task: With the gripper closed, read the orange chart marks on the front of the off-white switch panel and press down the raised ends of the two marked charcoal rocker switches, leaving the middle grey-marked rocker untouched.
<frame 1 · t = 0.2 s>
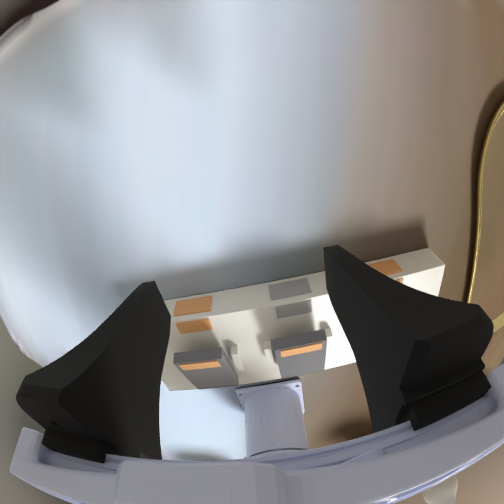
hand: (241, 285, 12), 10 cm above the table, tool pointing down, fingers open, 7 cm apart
switch panel: (292, 320, 26), on the table
fruit juice: (420, 431, 52), on the table
rocker b: (301, 357, 23), point 5 cm above the table, hinge at -12.0°
rocker c: (208, 371, 23), point 5 cm above the table, hinge at -12.0°
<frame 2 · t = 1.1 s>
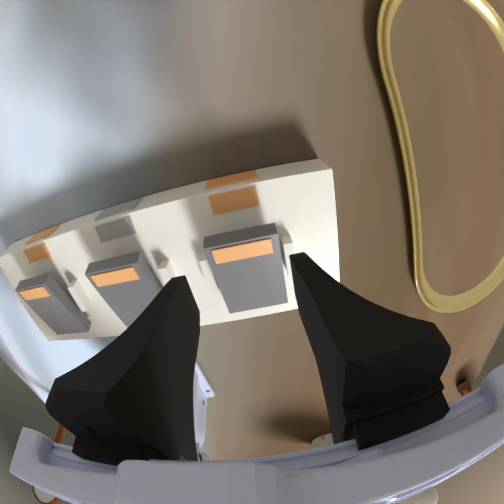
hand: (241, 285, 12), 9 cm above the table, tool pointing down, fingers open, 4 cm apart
magnifying glass: (70, 403, 35), on the table
switch panel: (148, 259, 22), on the table
fruit juice: (395, 433, 47), on the table
tin: (461, 387, 41), on the table
rocker b: (132, 294, 18), point 5 cm above the table, hinge at -12.0°
rocker c: (52, 307, 18), point 5 cm above the table, hinge at -12.0°
serving platter: (474, 158, 19), on the table
rocker a: (249, 273, 17), point 5 cm above the table, hinge at -12.0°
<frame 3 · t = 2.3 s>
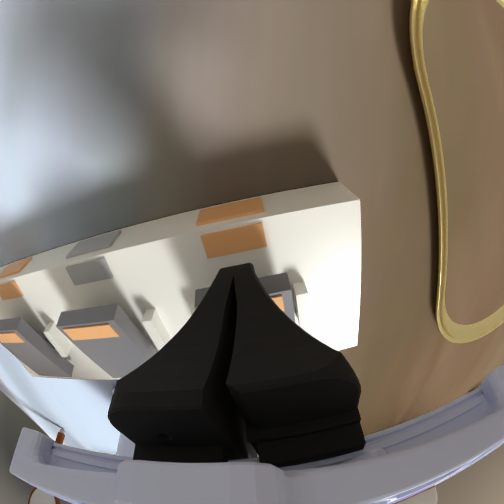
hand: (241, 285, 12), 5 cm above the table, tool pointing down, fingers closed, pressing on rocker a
magnifying glass: (63, 427, 31), on the table
switch panel: (133, 298, 18), on the table
fruit juice: (400, 452, 43), on the table
rocker b: (114, 347, 14), point 5 cm above the table, hinge at -12.0°
rocker c: (30, 350, 14), point 5 cm above the table, hinge at -12.0°
rocker a: (254, 330, 14), point 5 cm above the table, hinge at -11.2°, touching gripper
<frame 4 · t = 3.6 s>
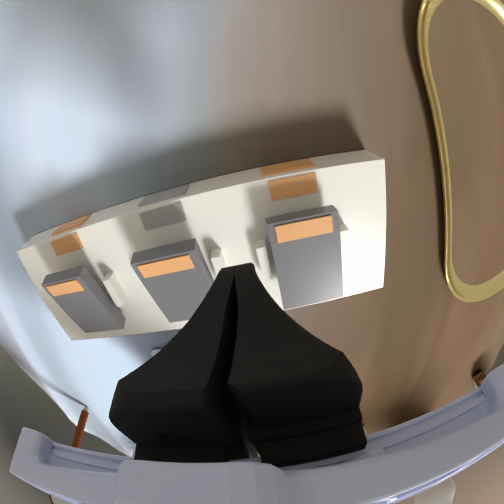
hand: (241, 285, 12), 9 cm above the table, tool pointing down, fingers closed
magnifying glass: (87, 405, 35), on the table
switch panel: (189, 250, 21), on the table
fruit juice: (411, 426, 47), on the table
tin: (476, 378, 40), on the table
rocker b: (180, 286, 18), point 5 cm above the table, hinge at -12.0°
rocker c: (83, 303, 18), point 5 cm above the table, hinge at -12.0°
serving platter: (496, 154, 18), on the table
rocker a: (307, 260, 17), point 5 cm above the table, hinge at 2.9°
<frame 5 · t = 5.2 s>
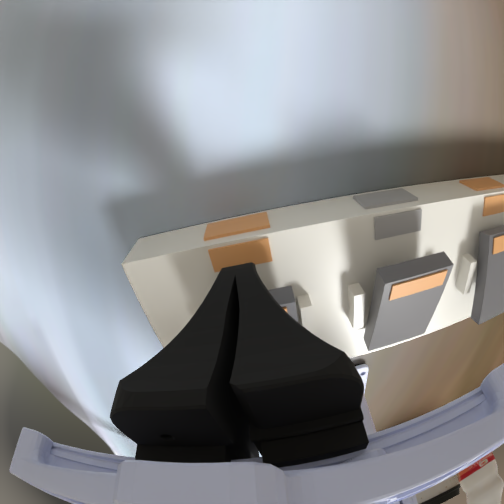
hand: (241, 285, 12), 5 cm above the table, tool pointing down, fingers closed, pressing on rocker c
switch panel: (375, 264, 17), on the table
fruit juice: (461, 432, 41), on the table
rocker b: (405, 307, 13), point 5 cm above the table, hinge at -12.0°
rocker c: (259, 341, 14), point 5 cm above the table, hinge at -9.7°, touching gripper
coffee cup: (415, 442, 37), on the table
rocker a: (499, 273, 13), point 5 cm above the table, hinge at 11.1°
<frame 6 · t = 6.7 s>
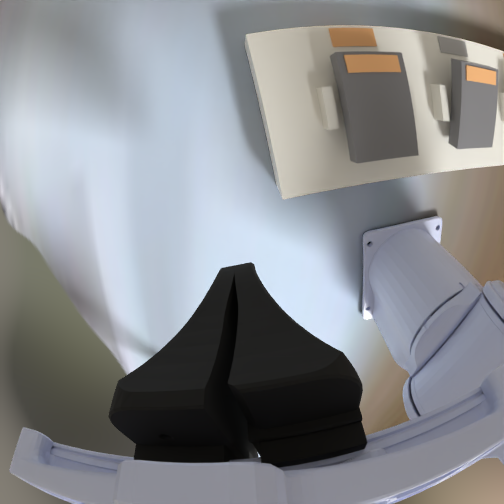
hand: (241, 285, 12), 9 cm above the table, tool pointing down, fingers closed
switch panel: (437, 99, 16), on the table
rocker b: (475, 105, 12), point 5 cm above the table, hinge at -12.0°
rocker c: (378, 104, 13), point 5 cm above the table, hinge at 4.4°
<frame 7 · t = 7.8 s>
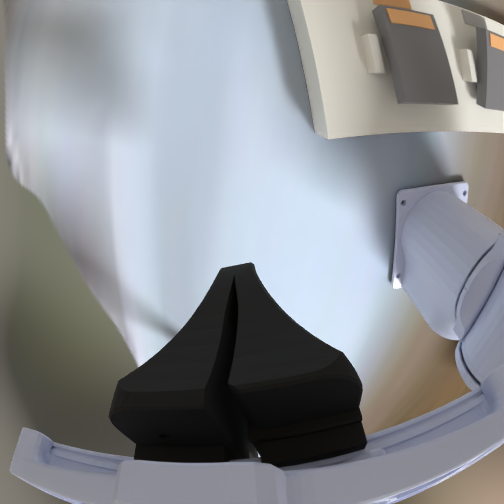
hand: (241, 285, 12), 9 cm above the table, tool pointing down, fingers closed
switch panel: (460, 68, 14), on the table
rocker b: (498, 71, 10), point 5 cm above the table, hinge at -12.0°
rocker c: (418, 54, 11), point 5 cm above the table, hinge at 9.5°
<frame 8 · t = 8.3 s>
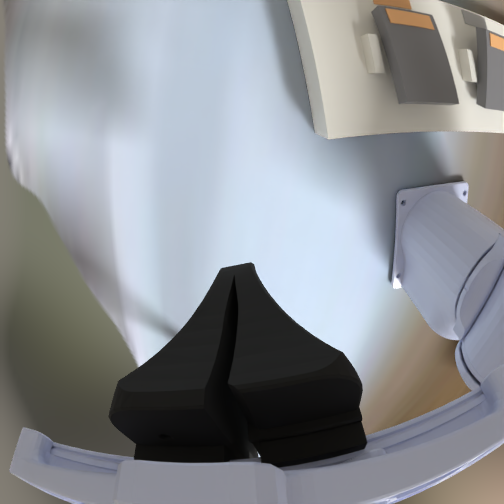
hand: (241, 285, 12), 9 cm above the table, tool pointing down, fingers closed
switch panel: (460, 68, 14), on the table
rocker b: (498, 71, 10), point 5 cm above the table, hinge at -12.0°
rocker c: (418, 54, 11), point 5 cm above the table, hinge at 11.2°
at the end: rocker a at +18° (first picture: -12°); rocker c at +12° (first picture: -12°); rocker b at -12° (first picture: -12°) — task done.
